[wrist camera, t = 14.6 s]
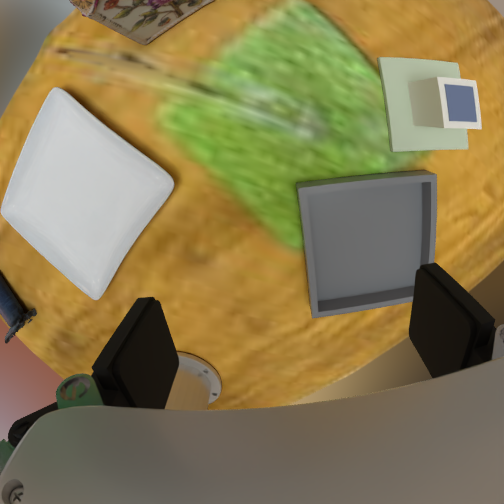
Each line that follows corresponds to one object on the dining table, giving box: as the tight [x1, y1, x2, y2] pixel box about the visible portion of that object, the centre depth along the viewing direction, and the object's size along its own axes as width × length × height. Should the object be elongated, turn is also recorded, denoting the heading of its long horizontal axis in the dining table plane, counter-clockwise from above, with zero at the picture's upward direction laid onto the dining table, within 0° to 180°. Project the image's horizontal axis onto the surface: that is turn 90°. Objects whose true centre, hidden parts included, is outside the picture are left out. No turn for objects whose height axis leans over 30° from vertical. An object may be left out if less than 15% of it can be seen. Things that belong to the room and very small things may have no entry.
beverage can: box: [0, 274, 37, 343], centre depth 41 cm, size 9×8×12 cm
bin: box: [296, 170, 437, 318], centre depth 34 cm, size 16×16×3 cm
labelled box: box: [408, 77, 482, 129], centre depth 25 cm, size 5×5×7 cm
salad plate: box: [1, 87, 174, 300], centre depth 34 cm, size 21×21×3 cm
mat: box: [377, 57, 468, 152], centre depth 28 cm, size 11×11×1 cm
